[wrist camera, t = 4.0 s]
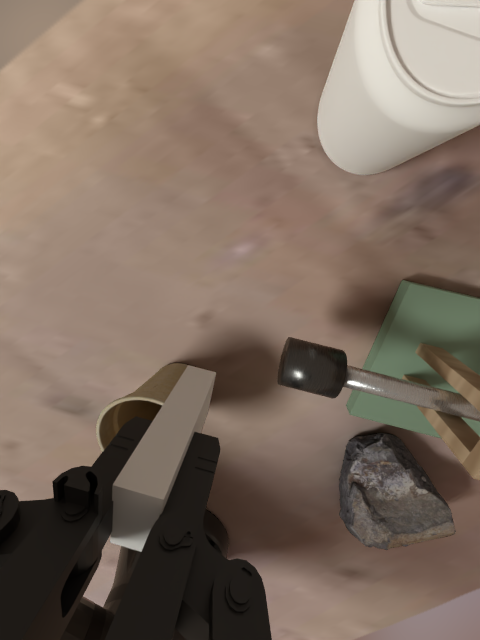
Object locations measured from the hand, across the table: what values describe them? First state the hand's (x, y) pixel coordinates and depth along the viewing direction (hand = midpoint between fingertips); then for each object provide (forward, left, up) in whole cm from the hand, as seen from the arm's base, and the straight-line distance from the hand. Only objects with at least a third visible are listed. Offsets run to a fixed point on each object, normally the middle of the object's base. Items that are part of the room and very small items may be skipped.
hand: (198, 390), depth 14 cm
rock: (+21, -16, -14) cm, 30 cm away
